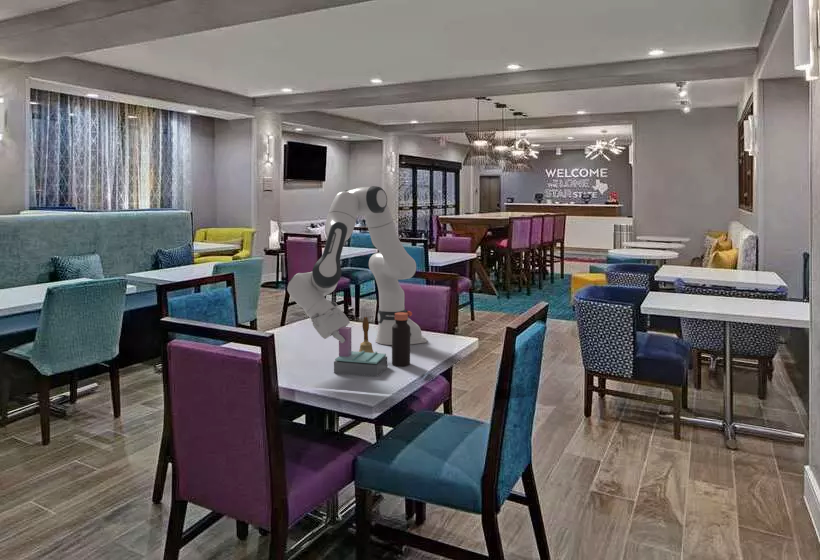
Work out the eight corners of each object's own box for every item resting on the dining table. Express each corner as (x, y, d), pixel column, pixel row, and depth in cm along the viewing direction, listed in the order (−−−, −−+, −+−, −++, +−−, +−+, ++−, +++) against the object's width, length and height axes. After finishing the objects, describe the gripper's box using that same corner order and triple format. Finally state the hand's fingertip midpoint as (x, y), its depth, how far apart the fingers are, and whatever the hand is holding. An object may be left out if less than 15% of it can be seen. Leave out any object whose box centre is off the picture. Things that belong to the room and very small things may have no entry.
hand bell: (373, 360, 224) (373, 319, 222) (353, 358, 225) (352, 318, 223) (378, 354, 232) (378, 315, 230) (358, 353, 233) (358, 314, 231)
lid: (386, 355, 210) (386, 326, 209) (376, 363, 199) (376, 333, 198) (346, 352, 214) (346, 324, 213) (334, 360, 203) (334, 331, 202)
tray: (387, 369, 211) (387, 356, 211) (377, 378, 200) (377, 365, 199) (346, 365, 215) (345, 353, 214) (334, 375, 204) (333, 361, 203)
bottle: (413, 365, 217) (413, 312, 214) (405, 369, 211) (405, 315, 208) (396, 362, 220) (397, 311, 217) (388, 367, 214) (388, 314, 211)
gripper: (315, 311, 197) (342, 341, 196) (337, 301, 217) (361, 328, 216) (303, 323, 199) (330, 352, 198) (326, 312, 219) (350, 339, 218)
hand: (346, 340), depth 207 cm, fingers closed on lid, 3 cm apart
